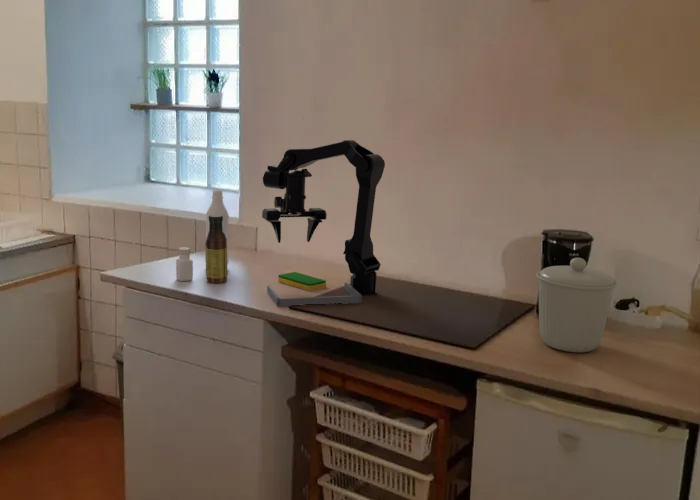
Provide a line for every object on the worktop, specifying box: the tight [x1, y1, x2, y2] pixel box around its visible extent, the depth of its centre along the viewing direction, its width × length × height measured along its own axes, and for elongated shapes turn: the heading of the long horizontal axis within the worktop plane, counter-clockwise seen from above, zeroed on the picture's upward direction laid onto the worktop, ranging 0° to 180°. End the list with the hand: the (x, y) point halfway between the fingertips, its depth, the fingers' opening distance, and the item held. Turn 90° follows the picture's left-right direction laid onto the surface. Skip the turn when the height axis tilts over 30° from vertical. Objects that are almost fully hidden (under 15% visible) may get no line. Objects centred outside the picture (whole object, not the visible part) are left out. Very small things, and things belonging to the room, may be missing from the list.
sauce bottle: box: [204, 214, 228, 284], centre depth 210 cm, size 7×6×20 cm
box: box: [266, 282, 364, 307], centre depth 199 cm, size 24×15×2 cm, turn 107°
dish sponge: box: [277, 271, 327, 291], centre depth 214 cm, size 7×14×2 cm, turn 47°
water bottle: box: [204, 189, 230, 266], centre depth 225 cm, size 7×7×25 cm
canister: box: [535, 257, 619, 353], centre depth 166 cm, size 18×18×21 cm
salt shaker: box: [175, 246, 194, 282], centre depth 211 cm, size 4×4×10 cm
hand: (293, 242), depth 217 cm, fingers open, 9 cm apart
